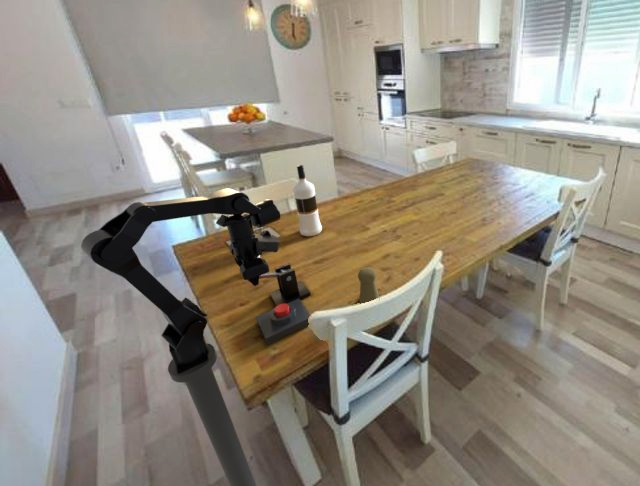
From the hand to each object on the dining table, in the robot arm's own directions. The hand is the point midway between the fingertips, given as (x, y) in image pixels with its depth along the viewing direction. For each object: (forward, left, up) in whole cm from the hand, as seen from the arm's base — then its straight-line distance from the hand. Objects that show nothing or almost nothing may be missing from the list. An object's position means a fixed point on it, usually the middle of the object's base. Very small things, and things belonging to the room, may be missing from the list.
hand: (254, 282), depth 92 cm
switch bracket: (+9, 0, -9) cm, 12 cm away
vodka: (+30, +37, -9) cm, 48 cm away
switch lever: (+4, 0, -1) cm, 4 cm away
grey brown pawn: (+27, -18, -9) cm, 33 cm away
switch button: (+3, -11, -6) cm, 13 cm away
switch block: (+4, -11, -9) cm, 15 cm away
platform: (+9, +47, -9) cm, 49 cm away
